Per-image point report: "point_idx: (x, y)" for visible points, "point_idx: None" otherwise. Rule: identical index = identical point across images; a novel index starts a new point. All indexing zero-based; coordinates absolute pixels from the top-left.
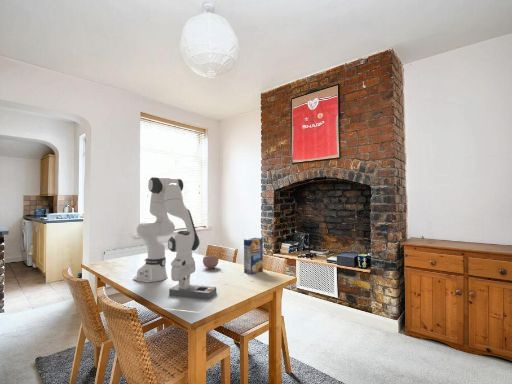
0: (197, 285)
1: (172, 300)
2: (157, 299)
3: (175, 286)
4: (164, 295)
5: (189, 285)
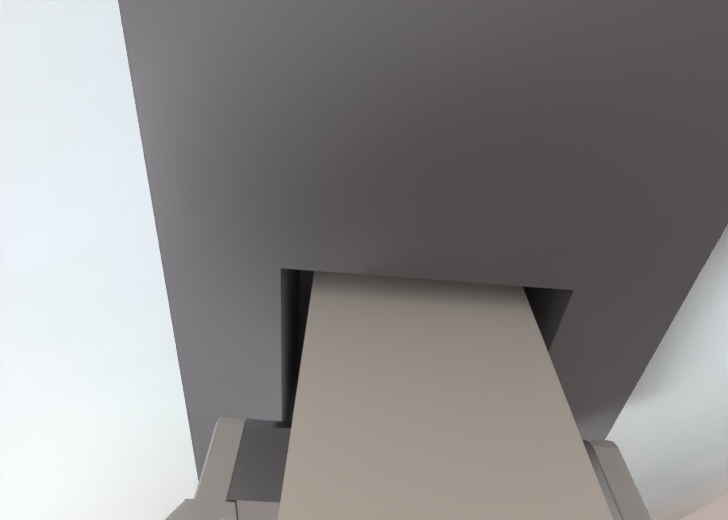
0: (151, 105)
1: (710, 330)
2: None
3: None
4: None
5: (322, 318)
